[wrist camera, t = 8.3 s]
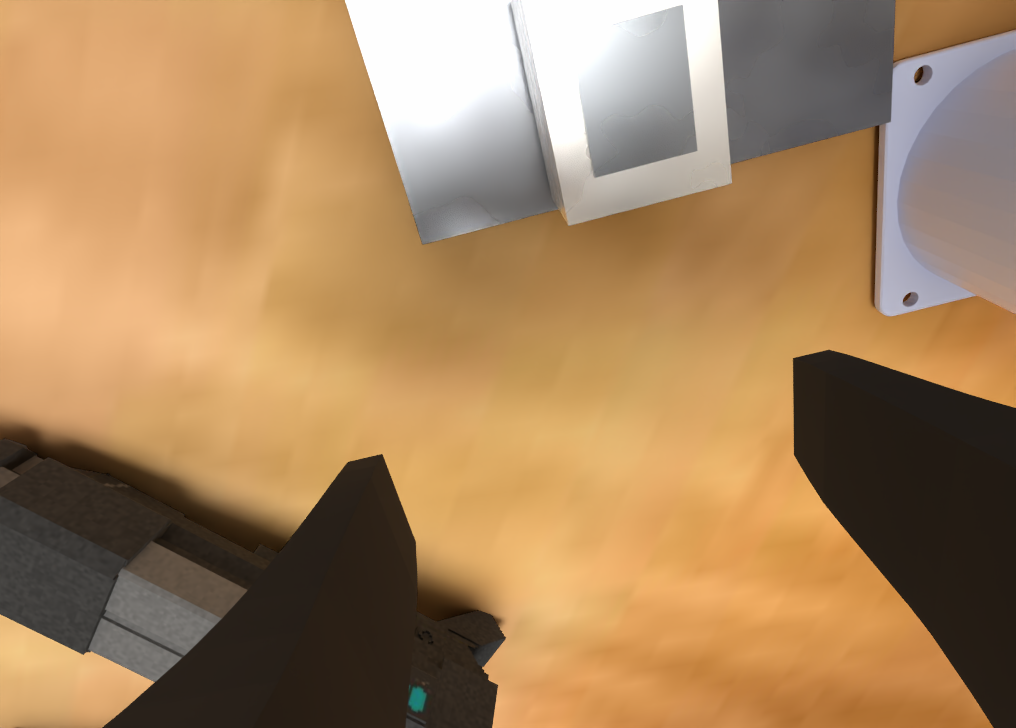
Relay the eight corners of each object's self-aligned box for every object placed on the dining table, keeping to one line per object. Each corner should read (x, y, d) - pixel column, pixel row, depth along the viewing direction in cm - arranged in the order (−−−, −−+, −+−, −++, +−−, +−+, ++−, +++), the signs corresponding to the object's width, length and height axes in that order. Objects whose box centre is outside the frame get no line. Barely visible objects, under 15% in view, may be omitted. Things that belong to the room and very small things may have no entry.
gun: (481, 674, 29) (394, 917, 19) (122, 431, 29) (-129, 553, 20) (532, 609, 27) (464, 841, 18) (151, 354, 28) (-108, 447, 18)
